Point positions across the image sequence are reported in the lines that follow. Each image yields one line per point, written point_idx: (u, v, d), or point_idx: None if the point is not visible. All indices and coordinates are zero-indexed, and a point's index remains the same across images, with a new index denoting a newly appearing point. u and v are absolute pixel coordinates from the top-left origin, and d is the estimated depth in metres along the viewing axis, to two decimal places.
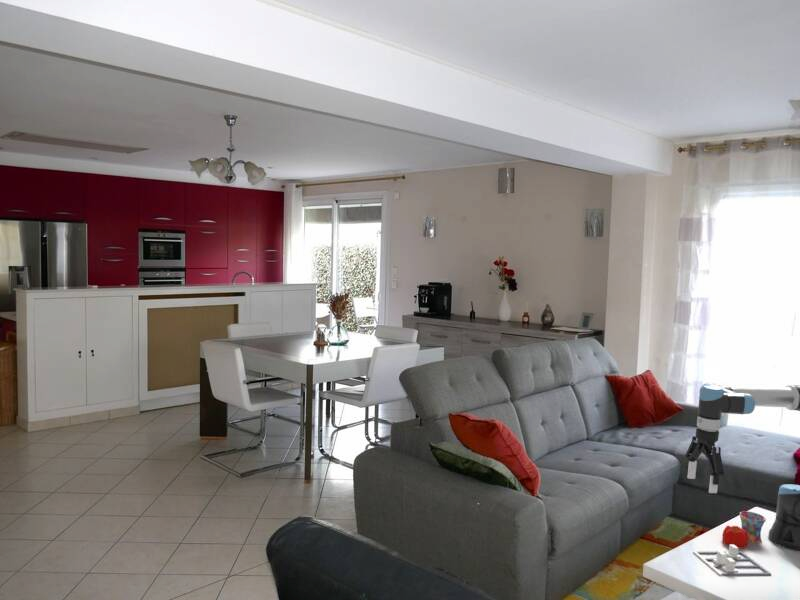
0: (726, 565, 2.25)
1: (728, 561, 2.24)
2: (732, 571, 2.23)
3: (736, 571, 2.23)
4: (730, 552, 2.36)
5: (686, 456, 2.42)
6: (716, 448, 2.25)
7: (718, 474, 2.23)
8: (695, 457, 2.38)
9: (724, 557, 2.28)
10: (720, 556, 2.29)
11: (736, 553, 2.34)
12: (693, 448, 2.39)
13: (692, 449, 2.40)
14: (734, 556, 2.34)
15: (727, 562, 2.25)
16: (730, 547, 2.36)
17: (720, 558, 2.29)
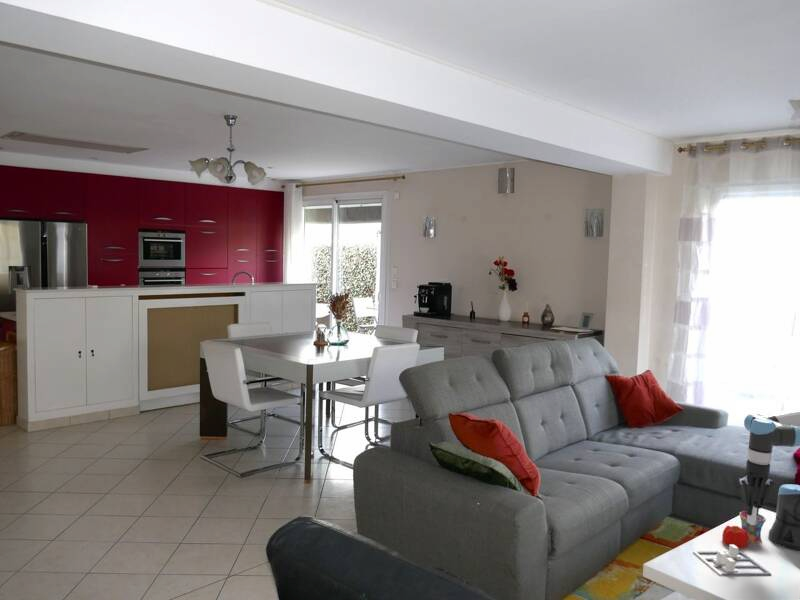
0: (726, 565, 2.25)
1: (728, 561, 2.24)
2: (732, 571, 2.23)
3: (736, 571, 2.23)
4: (730, 552, 2.36)
5: None
6: (739, 480, 2.33)
7: (743, 501, 2.35)
8: (756, 499, 2.34)
9: (724, 557, 2.28)
10: (720, 556, 2.29)
11: (736, 553, 2.34)
12: (763, 491, 2.35)
13: (762, 492, 2.35)
14: (734, 556, 2.34)
15: (727, 562, 2.25)
16: (730, 547, 2.36)
17: (720, 558, 2.29)
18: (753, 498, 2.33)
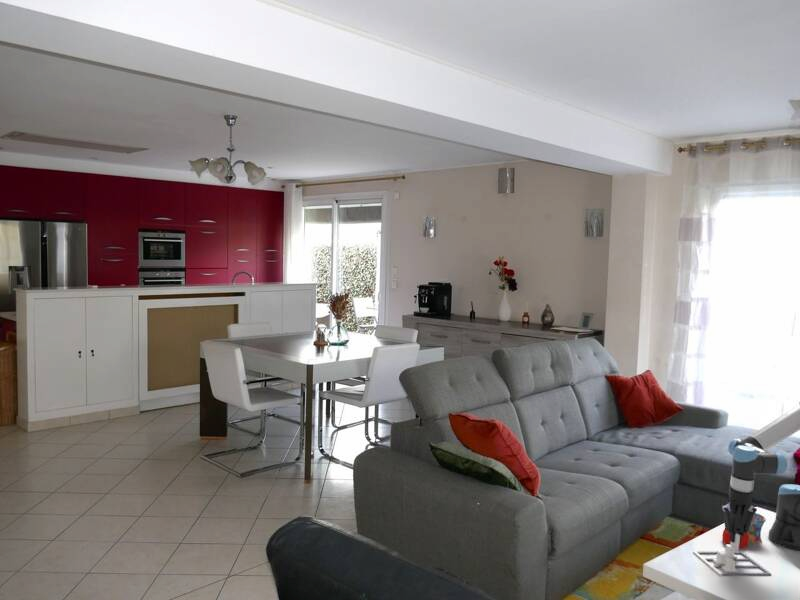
0: (726, 565, 2.25)
1: (728, 561, 2.24)
2: (732, 571, 2.23)
3: (736, 571, 2.23)
4: (726, 552, 2.36)
5: None
6: (722, 508, 2.34)
7: (725, 528, 2.35)
8: (739, 526, 2.35)
9: (724, 557, 2.28)
10: (720, 556, 2.29)
11: (732, 553, 2.34)
12: (746, 518, 2.35)
13: (745, 519, 2.35)
14: (730, 556, 2.34)
15: (727, 562, 2.25)
16: (726, 547, 2.36)
17: (720, 558, 2.29)
18: (736, 526, 2.33)
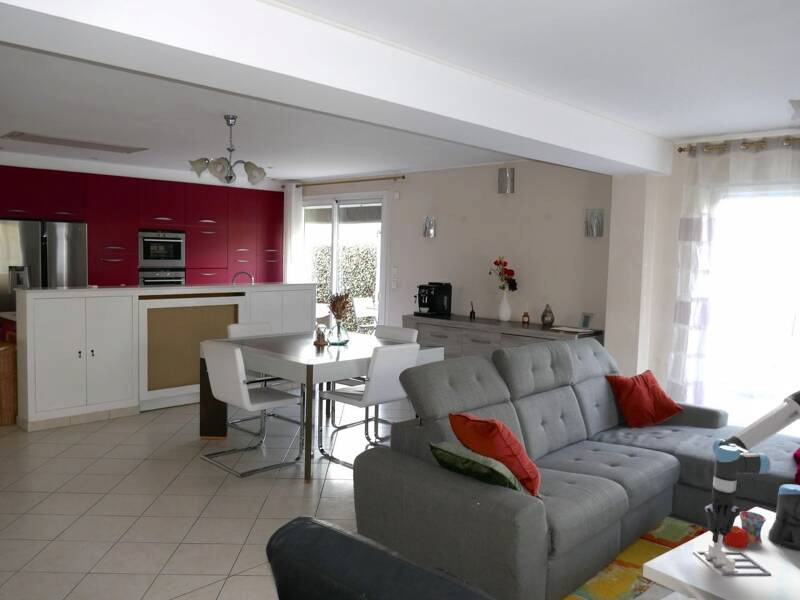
0: (726, 565, 2.25)
1: (728, 561, 2.24)
2: (732, 571, 2.23)
3: (736, 571, 2.23)
4: (710, 552, 2.35)
5: None
6: (705, 508, 2.33)
7: (708, 529, 2.34)
8: (721, 526, 2.34)
9: (724, 557, 2.28)
10: (720, 556, 2.29)
11: (715, 553, 2.33)
12: (729, 518, 2.34)
13: (728, 519, 2.35)
14: (713, 556, 2.33)
15: (727, 562, 2.25)
16: (710, 547, 2.35)
17: (720, 558, 2.29)
18: (718, 526, 2.33)
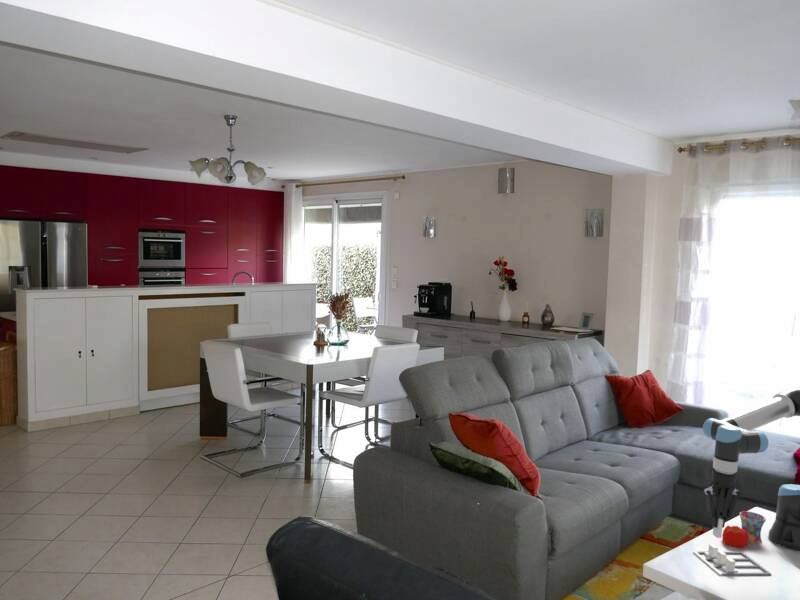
0: (726, 565, 2.25)
1: (728, 561, 2.24)
2: (732, 571, 2.23)
3: (736, 571, 2.23)
4: (710, 552, 2.35)
5: None
6: (704, 491, 2.21)
7: (708, 513, 2.23)
8: (722, 510, 2.22)
9: (724, 557, 2.28)
10: (720, 556, 2.29)
11: (715, 553, 2.33)
12: (729, 502, 2.23)
13: (729, 503, 2.23)
14: (713, 556, 2.33)
15: (727, 562, 2.25)
16: (710, 547, 2.35)
17: (720, 558, 2.29)
18: (719, 510, 2.21)
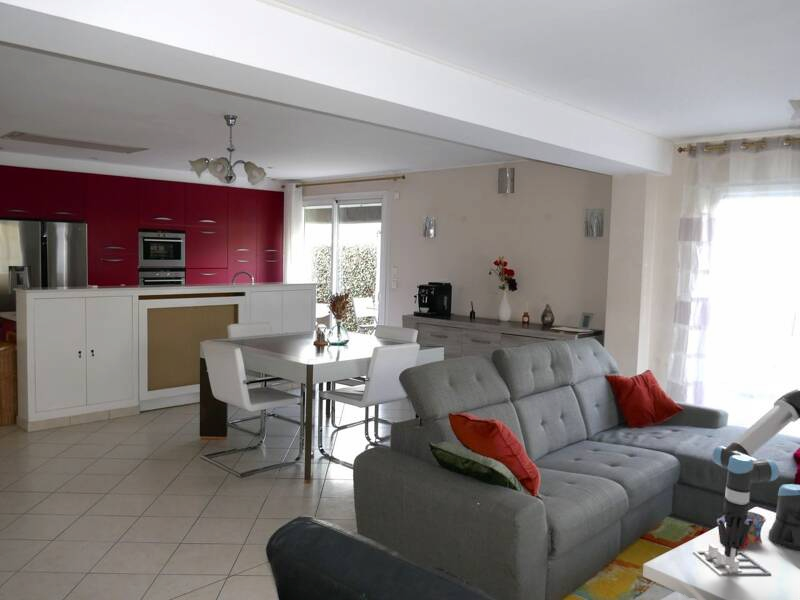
0: None
1: None
2: (736, 571, 2.23)
3: (740, 571, 2.24)
4: (710, 552, 2.35)
5: None
6: (717, 520, 2.23)
7: (721, 542, 2.24)
8: (734, 540, 2.24)
9: (724, 557, 2.28)
10: (720, 556, 2.29)
11: (715, 553, 2.33)
12: (742, 531, 2.24)
13: (741, 532, 2.25)
14: (713, 556, 2.33)
15: None
16: (710, 547, 2.35)
17: (720, 558, 2.29)
18: (731, 539, 2.23)
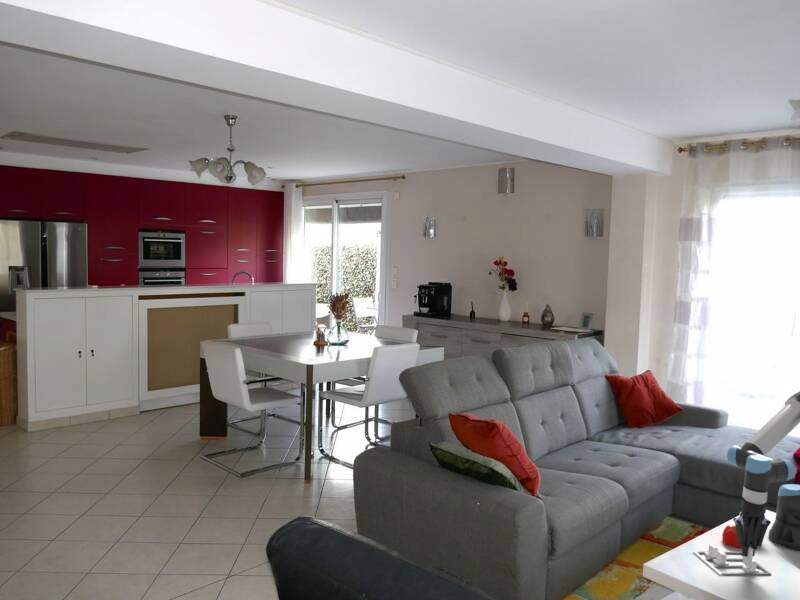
0: None
1: None
2: (753, 571, 2.24)
3: (757, 571, 2.24)
4: (710, 552, 2.35)
5: None
6: (734, 520, 2.24)
7: (738, 542, 2.25)
8: (752, 539, 2.25)
9: (724, 557, 2.28)
10: (720, 556, 2.29)
11: (715, 553, 2.33)
12: (759, 531, 2.25)
13: (758, 532, 2.25)
14: (713, 556, 2.33)
15: None
16: (710, 547, 2.35)
17: (720, 558, 2.29)
18: (749, 539, 2.23)
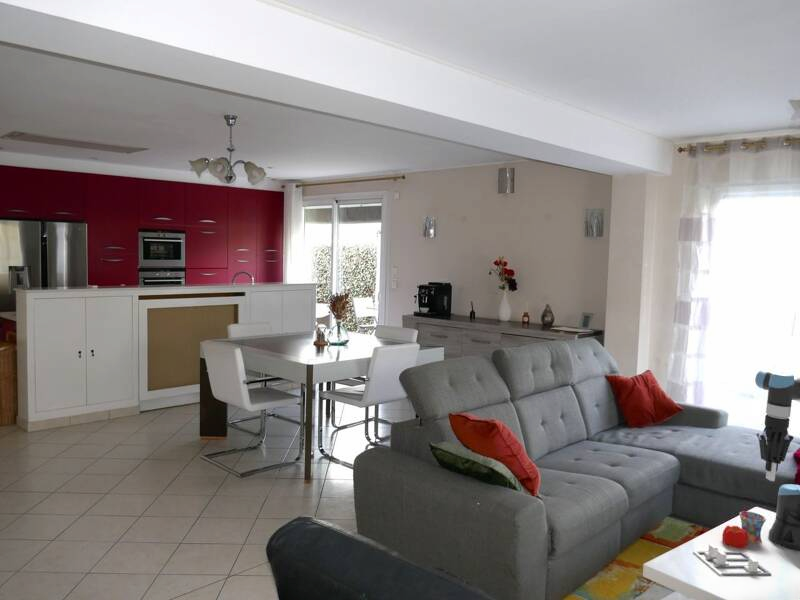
0: (749, 565, 2.26)
1: (751, 561, 2.25)
2: (755, 571, 2.24)
3: (759, 571, 2.24)
4: (710, 552, 2.35)
5: None
6: (758, 436, 2.29)
7: (761, 457, 2.31)
8: (775, 454, 2.30)
9: (724, 557, 2.28)
10: (720, 556, 2.29)
11: (715, 553, 2.33)
12: (782, 446, 2.31)
13: (781, 448, 2.31)
14: (713, 556, 2.33)
15: (750, 562, 2.26)
16: (710, 547, 2.35)
17: (720, 558, 2.29)
18: (772, 454, 2.29)
